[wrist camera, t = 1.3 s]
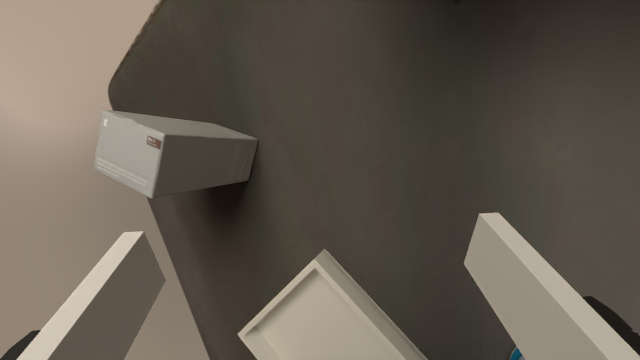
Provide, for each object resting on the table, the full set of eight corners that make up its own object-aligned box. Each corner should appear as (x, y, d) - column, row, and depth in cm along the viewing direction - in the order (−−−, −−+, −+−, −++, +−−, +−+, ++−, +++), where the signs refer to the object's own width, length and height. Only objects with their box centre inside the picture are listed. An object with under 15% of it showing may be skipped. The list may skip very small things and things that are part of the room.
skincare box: (206, 163, 43) (89, 176, 28) (215, 117, 41) (94, 105, 27) (251, 183, 40) (147, 208, 26) (263, 134, 38) (157, 132, 24)
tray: (324, 248, 37) (314, 258, 34) (428, 360, 34) (427, 383, 31) (251, 319, 44) (237, 334, 40) (333, 419, 40) (324, 444, 37)
